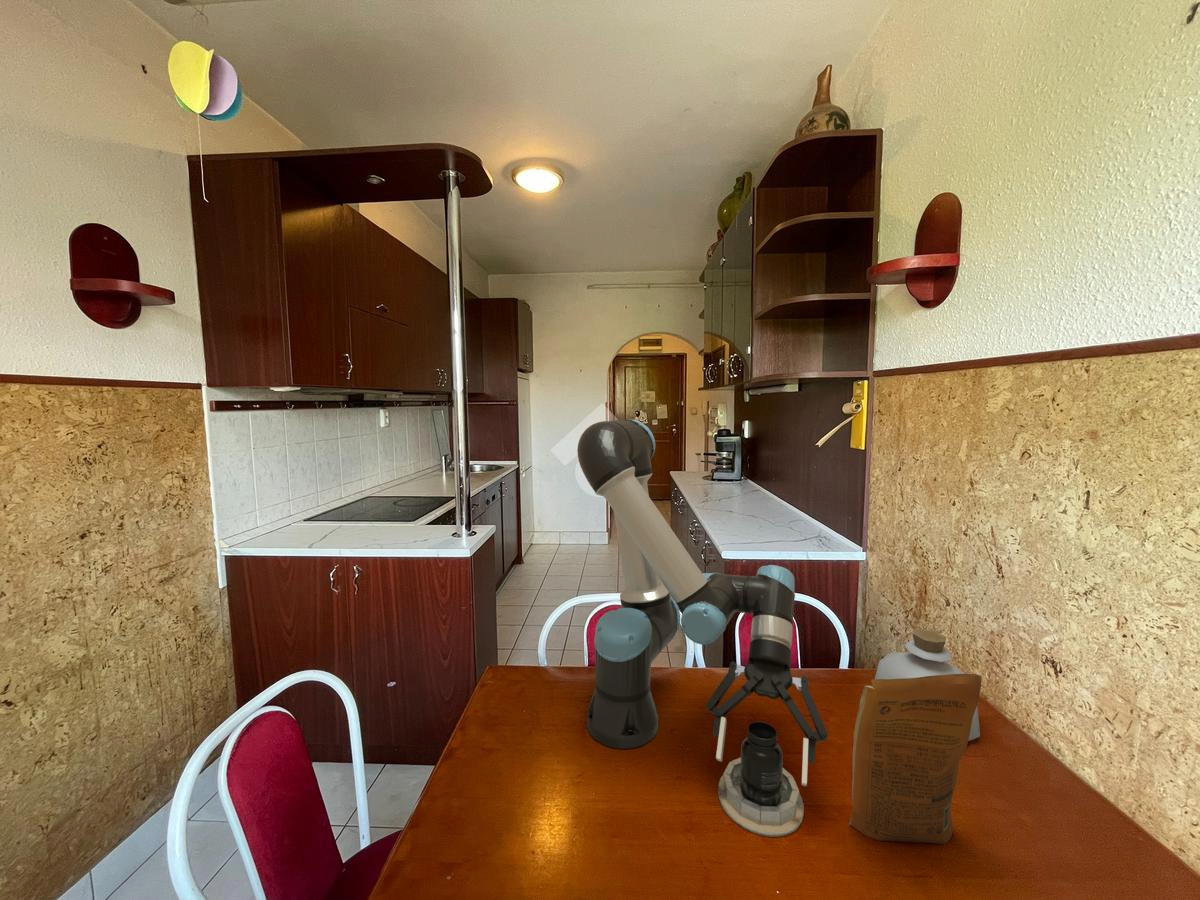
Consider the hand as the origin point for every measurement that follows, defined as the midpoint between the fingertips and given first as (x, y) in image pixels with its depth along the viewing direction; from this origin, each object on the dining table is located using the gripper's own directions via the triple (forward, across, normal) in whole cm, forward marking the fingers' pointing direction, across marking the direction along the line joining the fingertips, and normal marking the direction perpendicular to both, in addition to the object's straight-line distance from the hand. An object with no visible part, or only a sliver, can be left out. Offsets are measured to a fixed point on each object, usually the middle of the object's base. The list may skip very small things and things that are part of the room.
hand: (760, 772), depth 82 cm
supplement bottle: (+3, 0, -6) cm, 7 cm away
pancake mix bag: (+2, -22, -9) cm, 24 cm away
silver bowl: (+3, 0, -7) cm, 8 cm away
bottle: (-23, -31, -33) cm, 51 cm away
